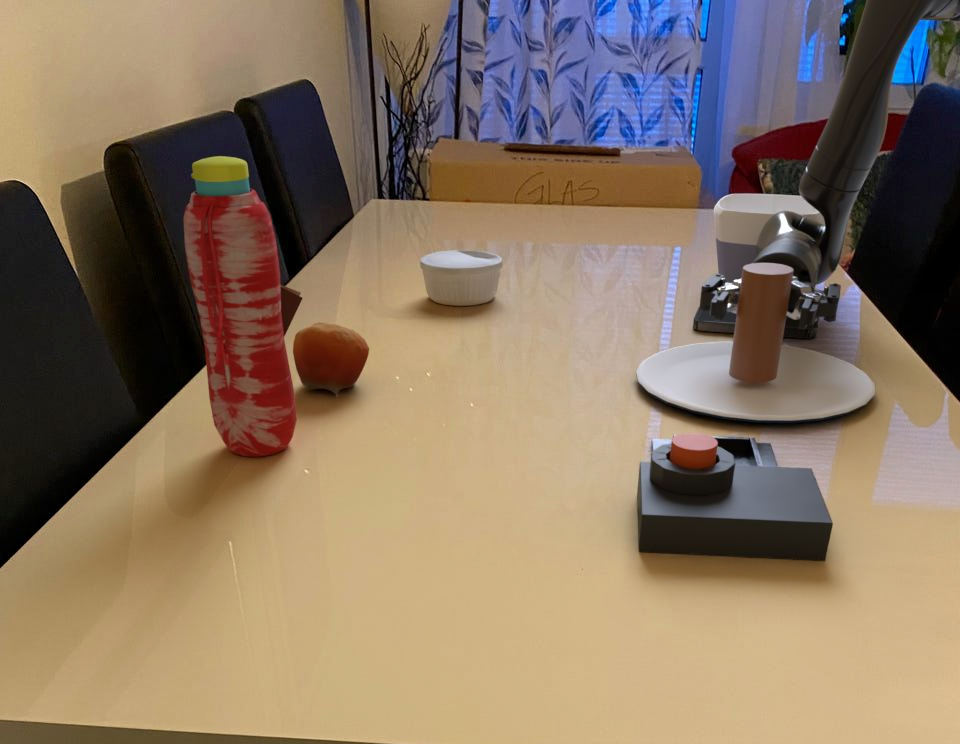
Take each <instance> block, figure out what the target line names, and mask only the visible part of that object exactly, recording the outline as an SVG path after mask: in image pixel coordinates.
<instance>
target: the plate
mask: <svg viewBox="0 0 960 744" xmlns="http://www.w3.org/2000/svg"><path fill="white" fill-rule="evenodd" d="M732 345H733V340H732V341H728V340H727V341H725V340H723V341H708V342H696V343H691V344H685V345H679V346H674V347H670V348H667V349H665V350H661V351H658V352H655V353H654V354H652V355H650V356H649V357H647V358H645V359H644V360H642V361H641V362H640V363H639V365H638V367H637V369H636V371H635V375H636V380H637V384H638V385H639V386H640V387H641V388H642V389H643V390H644V391H645V392H646V393H647V394H649V395H650V396H652V397H653V398H656V399H657V400H659V401H661V402H662V403H664V404H666V405H668V406H672V407H674V408H678V409H681V410H684V411H687V412H690V413H692V414H697V415H702V416H707V417H711V418H716V419H721V420H728V421H738V422H746V423H747V422H748V423H756V424H757V423H759V424H760V423H761V424H795V423H806V422H807V423H808V422H818V421H824V420H829V419H833V418H837V417H842V416H846V415H849V414H850V413H853V412H855V411H857V410H859V409H861V408H864V407H866V406H867V405H868V403H869V402H870V401H871V400H872V399H873V398H874V397H875V395H876V394H875V390H876V389H875V387H876V386H875V383H874V382H873V380H872V379H871V377H869V375H868V373H866V372H865V371H864V370H863V369H861V368H859V367H857V366H855V365H854V364H852V363H850V362H848V361H846V360H843V359H841V358H837V357H835V356H832V355H830V354H827V353H824V352H819V351H816V350H811V349H809V348H804V347H798V346H792V345H791V346H790V345H787V344H782V346H781V352H780V358H779V365H778V371H777V377H776V378H775V379H774V380H772V381H769V382H762V383H753V382H744V381H740V380H737V379H734V378H732V377H731V376H730V375H729V368H730V360H731V353H732Z"/></svg>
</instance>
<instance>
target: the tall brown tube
mask: <svg viewBox="0 0 960 744" xmlns="http://www.w3.org/2000/svg"><path fill="white" fill-rule="evenodd" d="M793 272H794V270H793V268H791V267H789V266H786V265H782V264H776V263H752V264H748V265H745V266H744V267H743V271H742V278H741V286H740V293H739V301H738V308H737V316H736V323H735V330H734V333H733V339H732V341H733V345H732V353H731V360H730V368H729V375H730V376H731V377H732V378H734V379H737V380H740V381H744V382H753V383H762V382H769V381H772V380H774V379H775V378H776V377H777V371H778V365H779V358H780V352H781V346H782V345H783V339H784V337H783V334H784V327H785V321H786V315H787V309H788V303H789V296H790V290H791V284H792V278H793Z"/></svg>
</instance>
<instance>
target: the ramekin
mask: <svg viewBox="0 0 960 744" xmlns="http://www.w3.org/2000/svg"><path fill="white" fill-rule="evenodd" d="M419 260H420V261H419V266H420V269H421V270H422V275H423V281H424V285H425V291H426V294H427V296H428V297H429V298H430V299H431V300H432V301H433V302H434V303H437V304H440V305H445V306H456V307H467V306H468V307H469V306H478V305H481V304H486V303H489V302H490V301H492V300H493V299H494V297H496V295H497V293H498V287H499V282H500V276H501V269H502V268H503V263H504V261H503V258H502V257H501V256H499V255H497V254H495V253H492V252H489V251H481V250H471V249H454V250H453V249H452V250H451V249H450V250H440V251H436V252H431V253H428V254H426V255H423V256H422V257H421V258H420V259H419Z"/></svg>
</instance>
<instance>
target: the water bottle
mask: <svg viewBox="0 0 960 744" xmlns="http://www.w3.org/2000/svg"><path fill="white" fill-rule="evenodd" d="M191 169H192V173H191V174H190V176H191V179H194V183H195V189H196V190H195V191H193V192H192V193H191V194H190V199H189V202H188V204H187V205H186V206H185V210H184V214H183V235H184V249H185V254H186V261H187V268H188V274H189V281H190V284H191V289H192V292H193V296H194V299H195V304H196V308H197V312H198V315H199V321H200V327H201V333H202V339H203V344H204V352H205V364H206V377H207V387H208V396H209V397H208V398H209V404H210V409H211V414H212V420H213V425H214V427H215V429H216V431H217V433H218V435H219V436H220V438H221V440H222V442H223V443H224V445H225V446H226V448H227V449H228V450H229V451H230V452H231V453H232V454H236V455H238V456H243V457H251V458H254V457H255V458H259V457H260V458H261V457H265V456H272V455H275V454H277V453H279V452H281V451H283V450H285V449H287V448H288V446H289V444H290V443H291V440H292V439H293V436H294V434H295V433H294V432H295V428H296V424H297V420H298V417H297V407H296V395H295V389H294V384H293V377H292V374H291V373H292V372H291V368H290V361H289V357H288V352H287V347H286V341H285V336H286V335H287V332H288V330H289V328H290V326H291V324H292V322H293V319H294V318H295V315H296V313H297V311H298V309H299V307H300V305H301V303H302V301H303V297H302V296H301V294H302V292H301V291H298V290H296V289H293V288H290V287H288V286H285V285H283V284H281V270H280V261H279V254H278V245H277V239H276V234H275V231H274V225H273V222H272V217H271V213H270V211H269V210H268V208H267V206H266V204H265V202H264V201H262V200H261V199H260V197H259V194H258V193H257V191H256V190H255V189H253V188H250V187H251V186H250V180H249V177H250V174H249V173H250V172H249V166H248V163H247V161H246V160H244V159H242V158H238V157H232V156H223V155H217V156H211V157H210V156H209V157H206V158H201V159H199V160H196V161H194V162H192V165H191Z"/></svg>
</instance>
